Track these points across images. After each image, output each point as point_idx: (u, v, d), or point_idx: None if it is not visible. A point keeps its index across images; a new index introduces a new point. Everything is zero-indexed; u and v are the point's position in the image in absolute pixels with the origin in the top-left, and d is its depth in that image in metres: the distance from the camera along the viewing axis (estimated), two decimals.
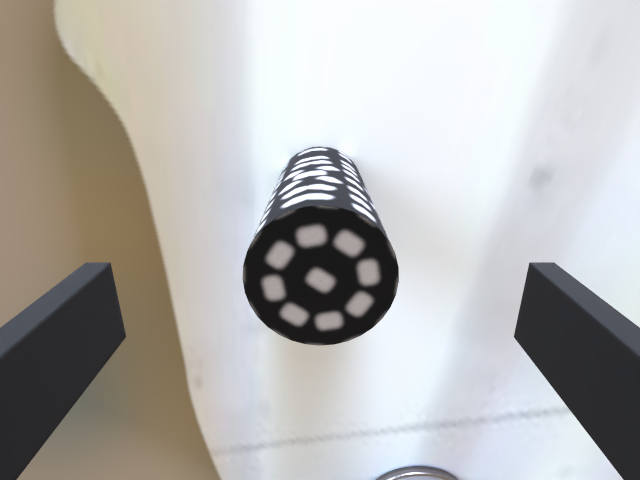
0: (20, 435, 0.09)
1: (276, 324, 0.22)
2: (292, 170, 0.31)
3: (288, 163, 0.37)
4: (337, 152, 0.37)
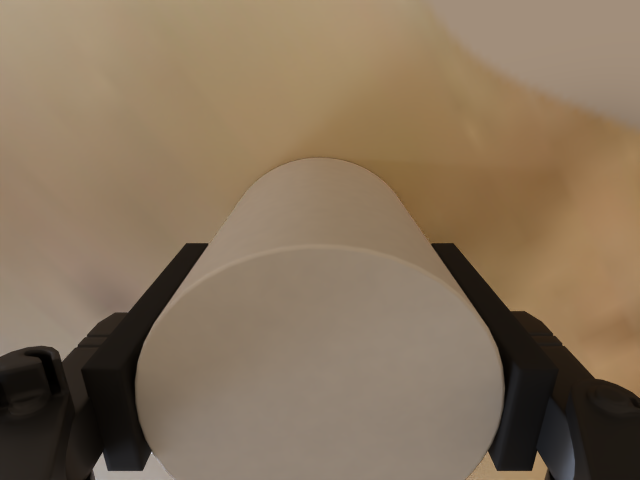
0: None
1: None
2: None
3: None
4: None
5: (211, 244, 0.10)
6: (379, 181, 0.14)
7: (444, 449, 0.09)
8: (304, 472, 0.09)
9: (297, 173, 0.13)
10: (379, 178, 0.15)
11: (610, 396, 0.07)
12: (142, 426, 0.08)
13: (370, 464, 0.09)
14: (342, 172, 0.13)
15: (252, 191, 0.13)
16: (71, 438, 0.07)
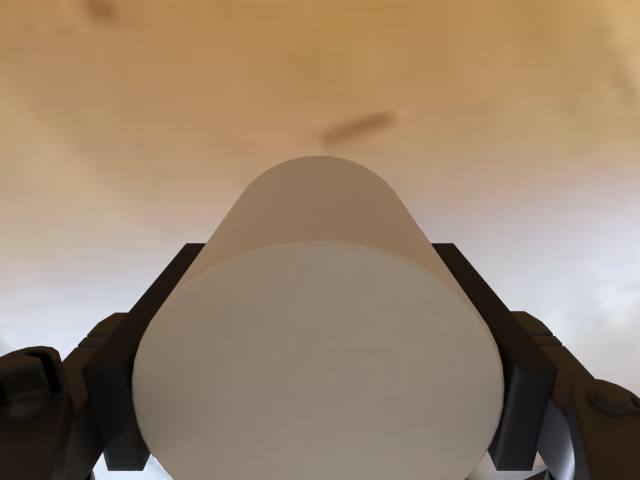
0: None
1: None
2: None
3: None
4: None
5: (209, 242, 0.10)
6: (378, 179, 0.14)
7: (444, 448, 0.09)
8: (302, 472, 0.09)
9: (296, 171, 0.13)
10: (378, 176, 0.15)
11: (610, 395, 0.07)
12: (139, 425, 0.08)
13: (369, 463, 0.09)
14: (341, 170, 0.13)
15: (250, 189, 0.13)
16: (71, 438, 0.07)
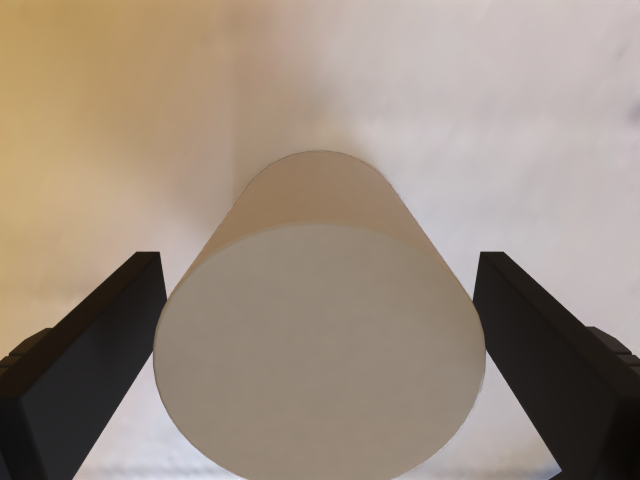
0: (96, 406, 0.09)
1: None
2: None
3: None
4: None
5: (220, 227, 0.11)
6: (375, 173, 0.15)
7: (432, 411, 0.10)
8: (305, 432, 0.10)
9: (298, 164, 0.14)
10: (375, 170, 0.16)
11: None
12: (159, 388, 0.09)
13: (365, 425, 0.10)
14: (340, 163, 0.14)
15: (256, 181, 0.14)
16: None
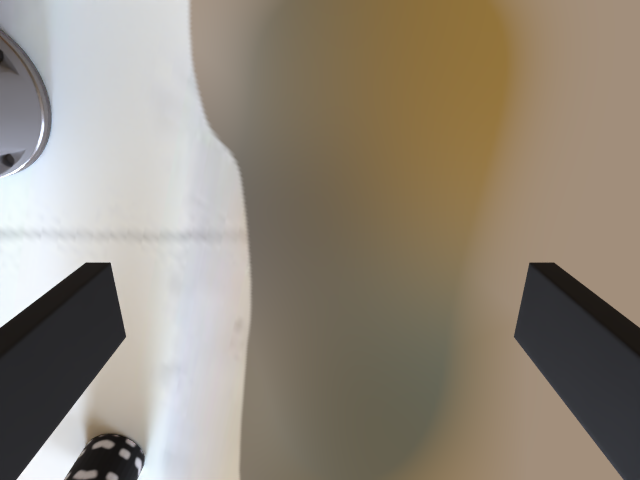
0: (21, 436, 0.09)
1: None
2: None
3: None
4: None
5: None
6: None
7: None
8: None
9: None
10: None
11: None
12: None
13: None
14: None
15: None
16: None
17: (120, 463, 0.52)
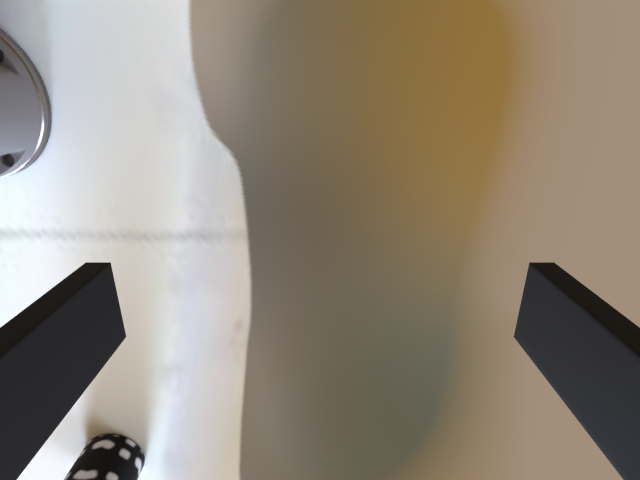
0: (21, 436, 0.09)
1: None
2: None
3: None
4: None
5: None
6: None
7: None
8: None
9: None
10: None
11: None
12: None
13: None
14: None
15: None
16: None
17: (120, 463, 0.52)
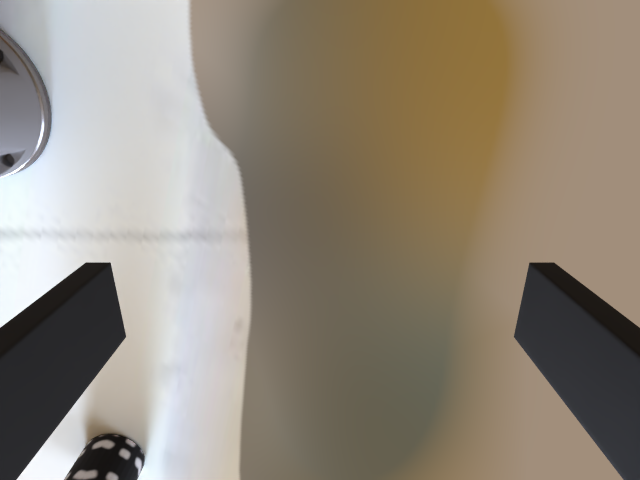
0: (21, 436, 0.09)
1: None
2: None
3: None
4: None
5: None
6: None
7: None
8: None
9: None
10: None
11: None
12: None
13: None
14: None
15: None
16: None
17: (120, 463, 0.52)
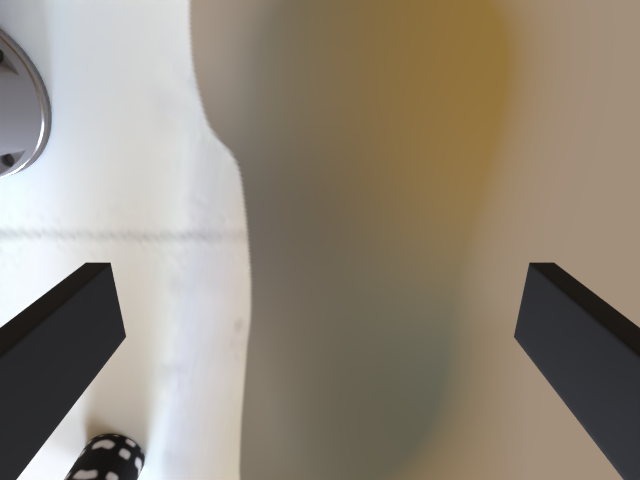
0: (21, 436, 0.09)
1: None
2: None
3: None
4: None
5: None
6: None
7: None
8: None
9: None
10: None
11: None
12: None
13: None
14: None
15: None
16: None
17: (120, 463, 0.52)
